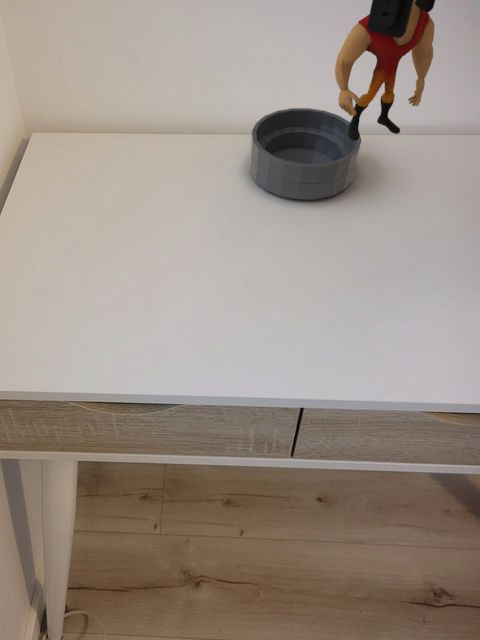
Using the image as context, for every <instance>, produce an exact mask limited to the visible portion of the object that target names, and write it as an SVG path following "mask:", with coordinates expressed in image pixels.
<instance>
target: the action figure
mask: <svg viewBox="0 0 480 640" xmlns="http://www.w3.org/2000/svg"><path fill="white" fill-rule="evenodd" d="M415 1H416V0H414V2H413V5H412V9H411V13H410V17H409V21H408V25H407V29H406V33H405V34H404V35H403V36H402V37H401V38H396V37H392V36H388V35H384V34H380V33H376V32H372V31H369V30H368V27H367V25H368V20H369V15H370V13H369V14H367V15H366V16H364V17H363V18H361V19H359V20H358V23H356V24H355V25H354V26H353V27H352V28H351V30H350V31H349V33H348V34H347V36H346V38H345V40H344V41H343V43H342V46H341V48H340V50H339V52H338V54H337V56H336V57H337V58H336V60H335V66H334V78H335V80H336V83H337V86H338V88H339V90H340V91H339V95H338V106H339V108H340V109H341V110H344V112H345V113H347V114H348V115H349V116H350V117H351V116H352V118H351V120H350V121H349V122H350V124H349V127H348V136H349V138H350V139H351V140H358V139H359V136H360V137H361V133H360V130H359V126H360V119H361V116H362V113H363V112H364V111H365V110H366V109H367V108H368V107H369V105H370V103H371V102H372V101H373V100H374V98H375V97H376V95H377V94H378V92H379V91H380V89H381V87H382V85H383V84H384V92H383V93H382V94H381V96H380V113H379V116H378V118H377V120H376V123H377V124H378V125H381V126H384V127H386V128H387V130H389V132H390V133H393V134H394V135H398V134H400V132H401V129H400V127H399V126H397V125H396V124H395V123H394V122H393V121H392V120H391V119H390V118H389V113H390V110H391V108H392V107H393V104H394V102H395V93H394V89H395V86H396V78H397V71H398V67H399V64H400V62H401V59H402V58H403V57H405V56H406V55H407V54H409V53H410V52H411V58H412V63H413V66H414V69H415V72H416V76H417V79H415V80H416V82H415V90H414V91H413V94H414V95H412V96H411V97H409V98H408V99H407V101H408V104H409V105H411V106H412V107H415V106H416V107H419V105H420V104H421V100H422V96H423V95H422V94H423V92H424V89H425V85H426V84H425V83H426V82H425V78H426V77H427V75H428V72H429V70H430V68H431V65H432V62H433V59H434V46H433V42H434V40H435V38H434V37H435V22H434V21H433V18H432V17H431V16H430V12H428V13H427V12H425V11H424V10H423V9H421V8H420V7H417V6H416V5H415ZM365 52H369V53H371V54H372V55H374V56H375V58H376V64H375V67H374V69H373V71H372V77H371V81H370V84H369V86H368V90H367V92H366V93H363V94H362V95H360V96H358V95H357V94H355V93H354V92H353V91H352V90H351V89H349V81H350V76H351V72H352V69H353V66H354V64H355V62H356V61H357V60H358V59H359V58H360V57H361V56H362V55H363V54H364V53H365ZM354 102H355V104H354Z"/></svg>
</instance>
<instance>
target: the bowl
mask: <svg viewBox="0 0 480 640" xmlns="http://www.w3.org/2000/svg"><path fill="white" fill-rule="evenodd" d="M350 122H351V121H350V120H347V119H345V118H344V117H343V116H341V115H339V114H336V113H333V112H330V111H327V110H322V109H315V108H310V107H309V108H308V107H293V108H291V107H290V108H287V109H286V108H285V109H280V110H276V111H273V112H271V113H268V114H266V115H264V116H263V117H262V118H260V119H259V120H258V121H256V122H255V124H254V126H253V128H252V130H251V136H250V147H249V158H248V159H249V160H248V167H249V168H248V170H249V174H250V176H251V177H252V179H253V180H254V182H255V183H256V184H258V185H259V186H260V187H262V188H263V189H264V190H266V191H267V192H269V193H272V194H275V195H276V196H279V197H283V198H289V199H293V200H319V199H323V198H329V197H332V196H334V195H336V194H338V193H339V194H340V193H341V192H343V191H344V190H345V189H346V188H347V187H348V186H349V185H350V184H351V183H352V181H353V178H354V175H355V170H356V169H355V168H356V165H357V162H358V158H359V153H360V149H361V144H362V137H361V135H360V136H359V139H358V140H351V139H350V138H349V136H348V127H349V124H350Z"/></svg>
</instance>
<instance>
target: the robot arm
mask: <svg viewBox="0 0 480 640" xmlns="http://www.w3.org/2000/svg"><path fill="white" fill-rule="evenodd" d="M413 2H414V0H372V1H371V5H370V10H369V14H370V15H369V14H368V15H369V20H368V25H367V27H368V30H369V31H372V32H376V33H380V34H384V35H388V36H392V37H396V38H401V37H402V36H403V35H404V34H405V33H406V29H407V25H408V21H409V17H410V13H411V9H412V5H413ZM435 3H436V0H416V1H415V5H416V6H417V7H420V8H421V9H423V10H424V11H425V12H427V13H430V12H431V11H432V10H433V9H434V7H435Z"/></svg>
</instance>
